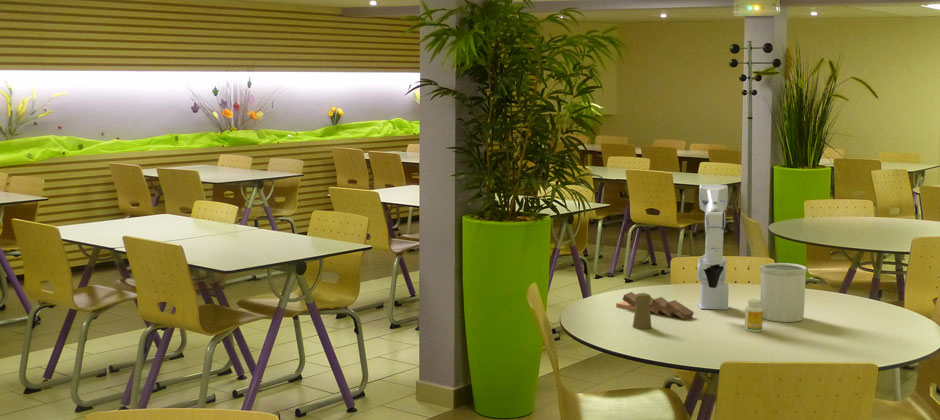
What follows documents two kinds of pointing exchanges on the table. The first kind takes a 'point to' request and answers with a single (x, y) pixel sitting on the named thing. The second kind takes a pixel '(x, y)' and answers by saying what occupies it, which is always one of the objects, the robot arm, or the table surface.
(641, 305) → the cork
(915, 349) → the table surface
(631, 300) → the domino
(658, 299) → the domino
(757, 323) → the supplement bottle
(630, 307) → the domino
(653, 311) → the domino
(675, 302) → the domino
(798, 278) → the utensil holder
